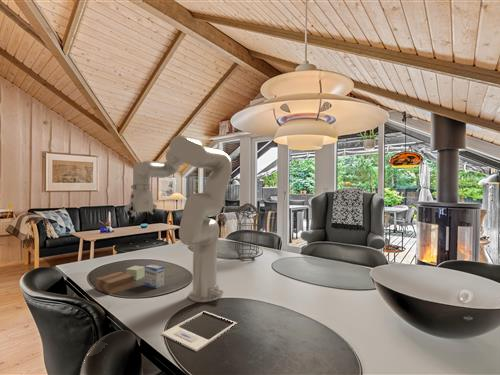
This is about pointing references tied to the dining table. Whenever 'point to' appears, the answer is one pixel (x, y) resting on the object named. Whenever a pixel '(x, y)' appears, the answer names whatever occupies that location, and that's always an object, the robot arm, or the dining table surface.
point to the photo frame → (192, 334)
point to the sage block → (136, 272)
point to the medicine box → (154, 276)
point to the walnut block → (114, 282)
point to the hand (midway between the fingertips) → (141, 223)
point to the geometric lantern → (247, 225)
